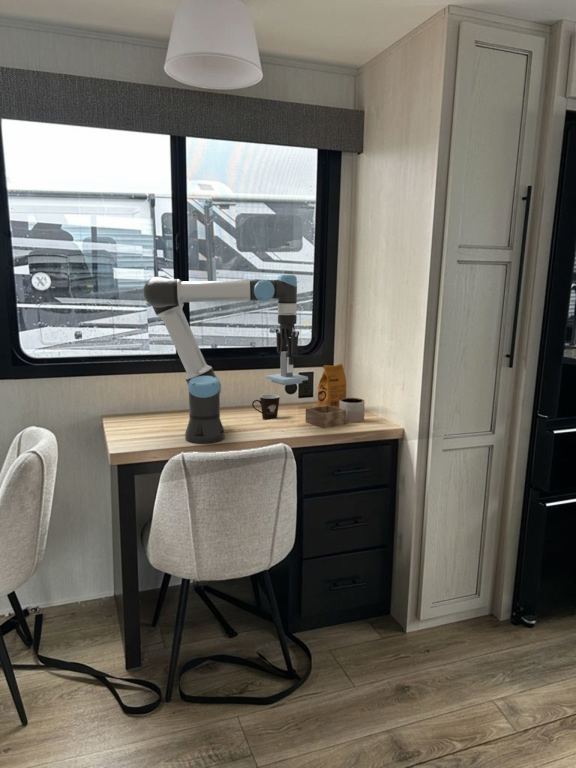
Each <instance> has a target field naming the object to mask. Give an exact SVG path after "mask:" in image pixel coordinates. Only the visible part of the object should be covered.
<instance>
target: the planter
mask: <svg viewBox="0 0 576 768" xmlns="http://www.w3.org/2000/svg"><path fill="white" fill-rule="evenodd" d="M365 404H366V403H365V399H362V398H358V397H346V398H343V399H340V407H339V408H340V409H343V410H346V423H352V424H353V423H363V422H364V421H365Z"/></svg>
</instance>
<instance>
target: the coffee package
mask: <svg viewBox="0 0 576 768" xmlns="http://www.w3.org/2000/svg"><path fill="white" fill-rule="evenodd" d="M322 368H323V370H324V371H323V372H322V375H321V378H320V379H319V383H318V386H317V402H316V403H317V405H316V407H318V406H324V405H329V406H333V407H336V408H339V407H340V399H343V398H347V379H346V378H347V377H346V373H345V370H344V369H345V368H344V367H343V364H342V363H339V364H337V365H323V366H322Z"/></svg>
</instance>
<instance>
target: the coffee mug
mask: <svg viewBox="0 0 576 768" xmlns="http://www.w3.org/2000/svg"><path fill="white" fill-rule="evenodd" d="M259 398H260V400H259V399H254V400H253V402H252V404H251V405H252V409H254V410H256V411H257V412H259V413H260V414H261V419H262V420H264V421H268V420H269V421H270V420H274V419H277V418H278V415H279V414H278V413H279V406H280V398H281V397H280V395H278V394H267V393H266V394H261V395H259ZM256 402H258V403H260V406H261V407H260V409H261V410H259V409H257V408H256V407H255V406H254V403H256Z"/></svg>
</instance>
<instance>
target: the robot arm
mask: <svg viewBox="0 0 576 768" xmlns="http://www.w3.org/2000/svg"><path fill="white" fill-rule="evenodd" d="M297 279H298V278H297V276H296V275H295V274H279V275H277V279H249V280H205V281H204V280H203V281H202V280H198V281H195V280H194V281H192V280H191V281H183V280H181V279H179V278H171V277H168V276H165V275H159V276H153V277H151V278H149V279H148V280H147V281H146V282H145V284H144V286H143V288H142V289H143V292H142V294H143V298H144V299H145V301H146V302H147V304H149V305H150V306H151V307H152V309H153V311H154V313H155V316H157V317H159V318H161V320H162V321H163V324H164V326H165V328H166V330H167V333H168V334H169V337H170V339H171V341H172V343H173V345H174V348H175V349H176V353H177V354H178V356H179V359H180V362H181V363H182V365H183V367H184V370H185V372H186V375H185V377H184V379H185V381H186V384H187V385H188V386H187V389H188V390H187V391H188V402H189V403H188V405H189V406H188V407H189V409H188V411H189V413H188V414H189V419H188V423H187V425H186V426H187V427H186V430H185V433H184V436H185V437H184V439H185V440H186V441H187V442H189V441H190V443H196V444H211V443H216V442H217V443H218V442H220V441H223V440H224V439H225V435H226V434H225V428H224V426H223V423H222V420H221V403H220V402H221V400H220V399H221V398H220V397H221V392H222V384H221V381H220V379H218V377H217V376H216V373H215V371H214V369H213V367H212V366H211V365H208V364H207V362H206V360H205V357H204V355H203V353H202V352H201V349H200V347H199V344H198V342H197V340H196V338H195V337H196V336H194V333H193V331H192V329H191V327H190V324H189V322H188V320H187V317H186V314H185V313H184V310H183V307H184V304H185V303H208V302H209V303H212V302H213V303H215V302H245V301H246V302H247V301H248V302H249V301H256V302H257V301H259V302H268V301H270V300H277V314H278V315H277V324H278V325H279V328H275V334H276V353H277V354H279V356H280V358H279V360H280V363H281V352H283V351H288V356H287V373H292V372H293V373H294V363H295V362H294V357H296V356H298V348H299V335H300V330H299V331H298V330H296V327H295V324H297V320H298V319H297V318H298V317H297V316H298V315H297V312H298V311H297V308H298V307H297V304H298V299H297V297H298V281H297Z"/></svg>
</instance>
